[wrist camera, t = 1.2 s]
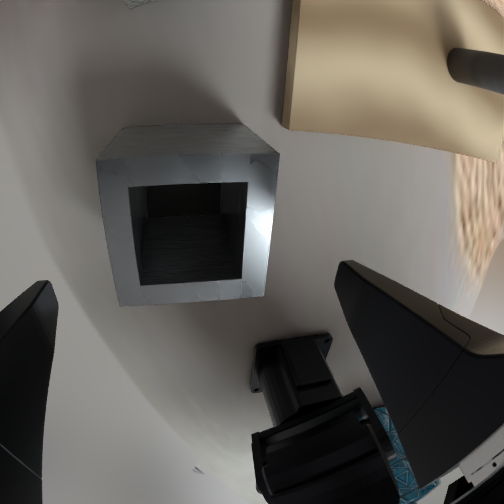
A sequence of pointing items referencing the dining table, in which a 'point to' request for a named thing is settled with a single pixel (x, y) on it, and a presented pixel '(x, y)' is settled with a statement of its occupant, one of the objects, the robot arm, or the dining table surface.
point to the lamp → (403, 465)
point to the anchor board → (398, 72)
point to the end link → (189, 226)
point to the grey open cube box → (136, 2)
